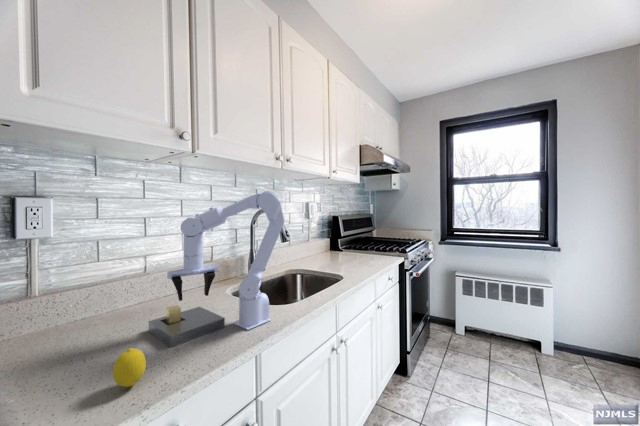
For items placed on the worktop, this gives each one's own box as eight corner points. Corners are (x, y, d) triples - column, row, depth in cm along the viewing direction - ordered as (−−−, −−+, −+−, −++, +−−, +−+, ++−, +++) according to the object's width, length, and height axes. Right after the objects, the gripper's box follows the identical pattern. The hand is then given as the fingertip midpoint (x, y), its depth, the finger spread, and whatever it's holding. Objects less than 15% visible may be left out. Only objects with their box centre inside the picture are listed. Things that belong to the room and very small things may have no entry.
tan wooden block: (177, 326, 82) (177, 304, 82) (180, 330, 79) (180, 308, 79) (165, 329, 80) (165, 307, 80) (168, 334, 77) (168, 310, 77)
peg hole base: (199, 314, 92) (199, 306, 92) (224, 327, 82) (224, 317, 82) (148, 331, 79) (148, 321, 79) (170, 347, 69) (170, 336, 69)
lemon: (140, 375, 58) (141, 339, 58) (149, 385, 54) (149, 347, 54) (109, 388, 53) (109, 349, 53) (116, 400, 50) (117, 359, 50)
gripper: (169, 259, 75) (169, 305, 75) (220, 254, 84) (220, 295, 84) (166, 256, 80) (166, 299, 80) (214, 251, 89) (214, 290, 89)
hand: (193, 297), depth 83 cm, fingers open, 7 cm apart
